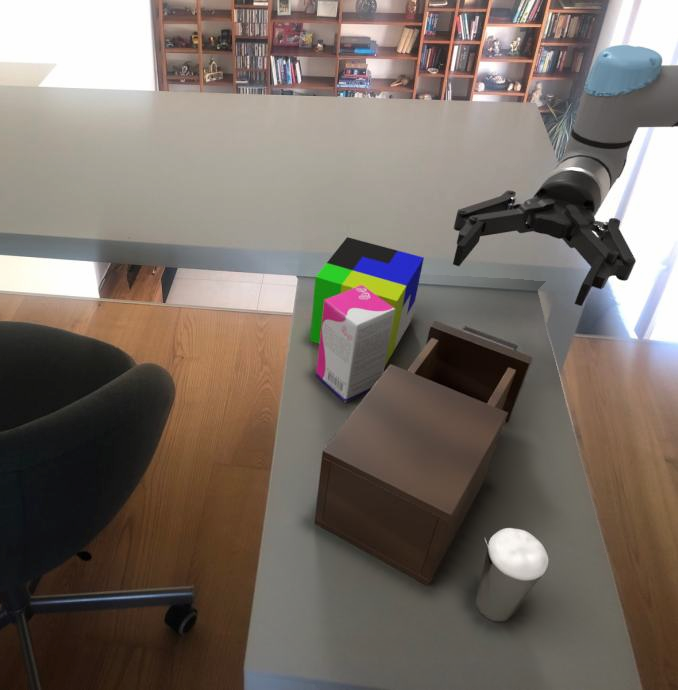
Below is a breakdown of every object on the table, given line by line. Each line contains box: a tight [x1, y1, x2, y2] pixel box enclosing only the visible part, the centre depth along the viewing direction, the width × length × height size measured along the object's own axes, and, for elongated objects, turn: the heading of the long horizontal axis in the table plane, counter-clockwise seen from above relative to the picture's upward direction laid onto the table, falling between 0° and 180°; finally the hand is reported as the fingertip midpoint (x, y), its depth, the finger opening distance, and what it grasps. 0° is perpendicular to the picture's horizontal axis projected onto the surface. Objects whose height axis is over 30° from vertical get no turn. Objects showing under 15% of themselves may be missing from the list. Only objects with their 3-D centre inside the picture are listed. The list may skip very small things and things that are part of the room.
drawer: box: [406, 320, 534, 424], centre depth 74 cm, size 17×11×9 cm, turn 144°
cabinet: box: [313, 363, 508, 586], centre depth 66 cm, size 14×12×11 cm
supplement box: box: [315, 285, 395, 403], centre depth 79 cm, size 6×6×12 cm
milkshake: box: [475, 527, 549, 622], centre depth 58 cm, size 5×5×10 cm
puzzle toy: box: [309, 236, 425, 366], centre depth 87 cm, size 10×10×10 cm
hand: (517, 274), depth 77 cm, fingers open, 13 cm apart
